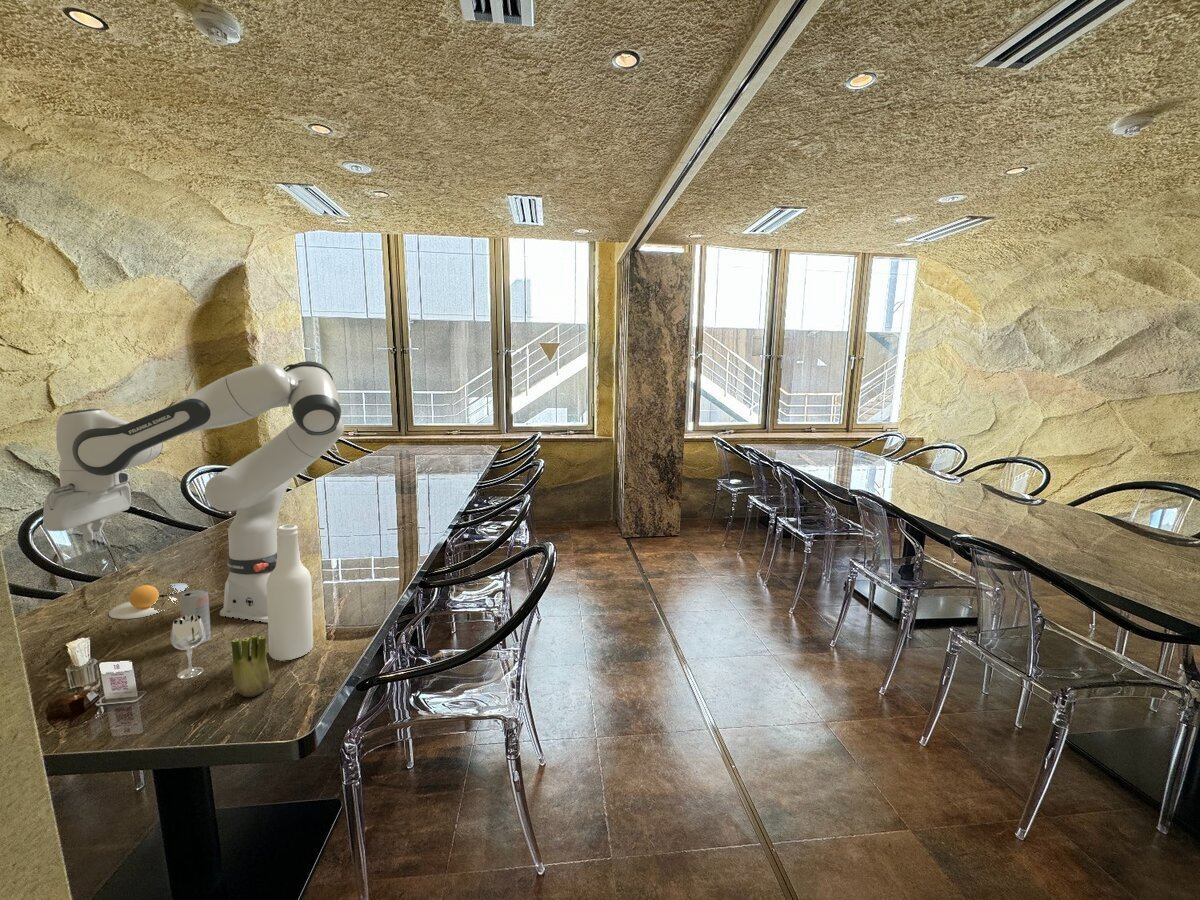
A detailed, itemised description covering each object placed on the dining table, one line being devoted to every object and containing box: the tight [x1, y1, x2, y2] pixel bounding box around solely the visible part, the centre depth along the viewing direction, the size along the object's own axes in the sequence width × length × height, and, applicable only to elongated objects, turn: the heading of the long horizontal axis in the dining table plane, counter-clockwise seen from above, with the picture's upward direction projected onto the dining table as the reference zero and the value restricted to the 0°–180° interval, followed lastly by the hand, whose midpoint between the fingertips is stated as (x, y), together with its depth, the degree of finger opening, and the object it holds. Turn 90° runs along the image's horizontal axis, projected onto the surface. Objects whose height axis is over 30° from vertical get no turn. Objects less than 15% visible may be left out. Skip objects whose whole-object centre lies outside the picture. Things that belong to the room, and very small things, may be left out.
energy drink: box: [179, 588, 212, 646], centre depth 125 cm, size 5×5×12 cm
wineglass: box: [170, 615, 205, 680], centre depth 111 cm, size 6×6×12 cm
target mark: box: [108, 595, 178, 620], centre depth 141 cm, size 14×14×1 cm
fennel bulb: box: [230, 634, 271, 698], centre depth 106 cm, size 6×5×12 cm
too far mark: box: [167, 582, 190, 596], centre depth 153 cm, size 9×9×1 cm
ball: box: [128, 584, 159, 608], centre depth 141 cm, size 6×6×6 cm
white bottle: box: [266, 524, 314, 662], centre depth 120 cm, size 9×9×30 cm
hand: (92, 539), depth 122 cm, fingers closed
